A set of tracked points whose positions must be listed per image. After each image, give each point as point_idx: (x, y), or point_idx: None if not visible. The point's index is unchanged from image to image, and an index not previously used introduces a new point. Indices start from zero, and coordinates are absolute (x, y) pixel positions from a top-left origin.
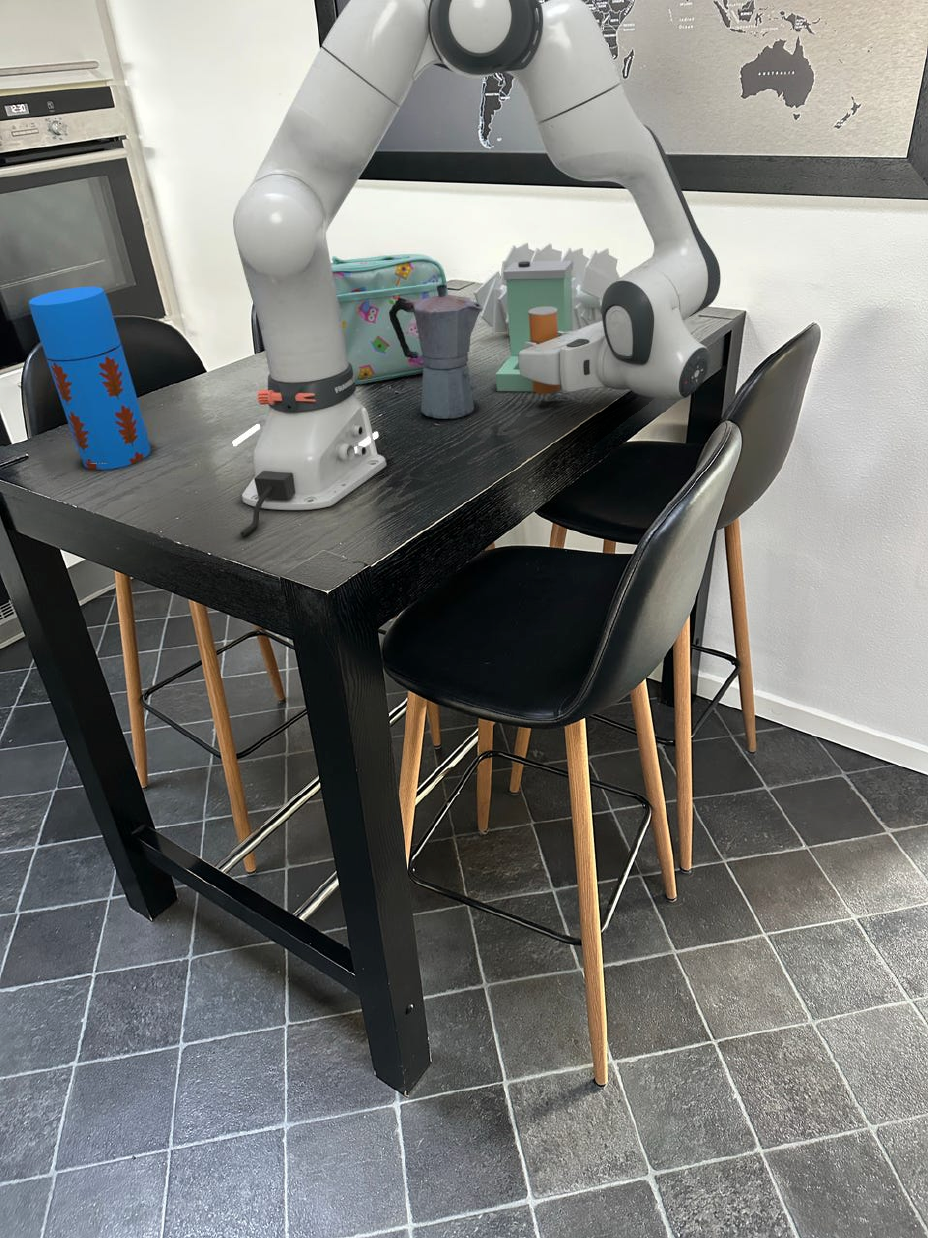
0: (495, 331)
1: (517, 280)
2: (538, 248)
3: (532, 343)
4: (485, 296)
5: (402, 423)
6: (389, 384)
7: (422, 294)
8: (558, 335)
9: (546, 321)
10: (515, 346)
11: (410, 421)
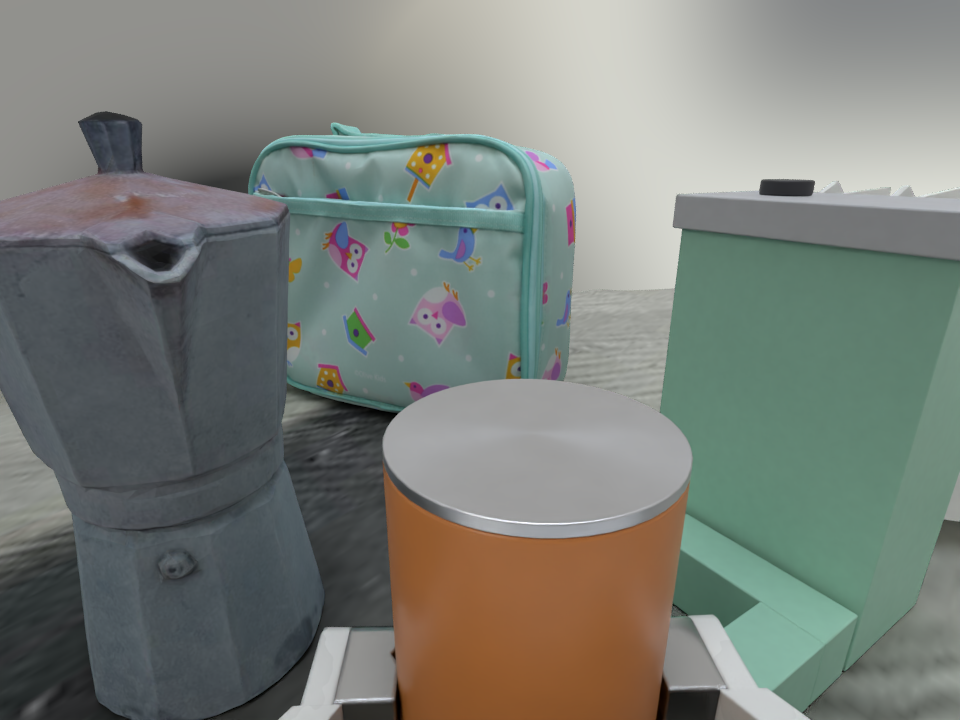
0: None
1: (721, 238)
2: (909, 187)
3: (305, 706)
4: None
5: (48, 603)
6: (360, 423)
7: (459, 234)
8: (677, 702)
9: (456, 593)
10: None
11: (73, 609)
